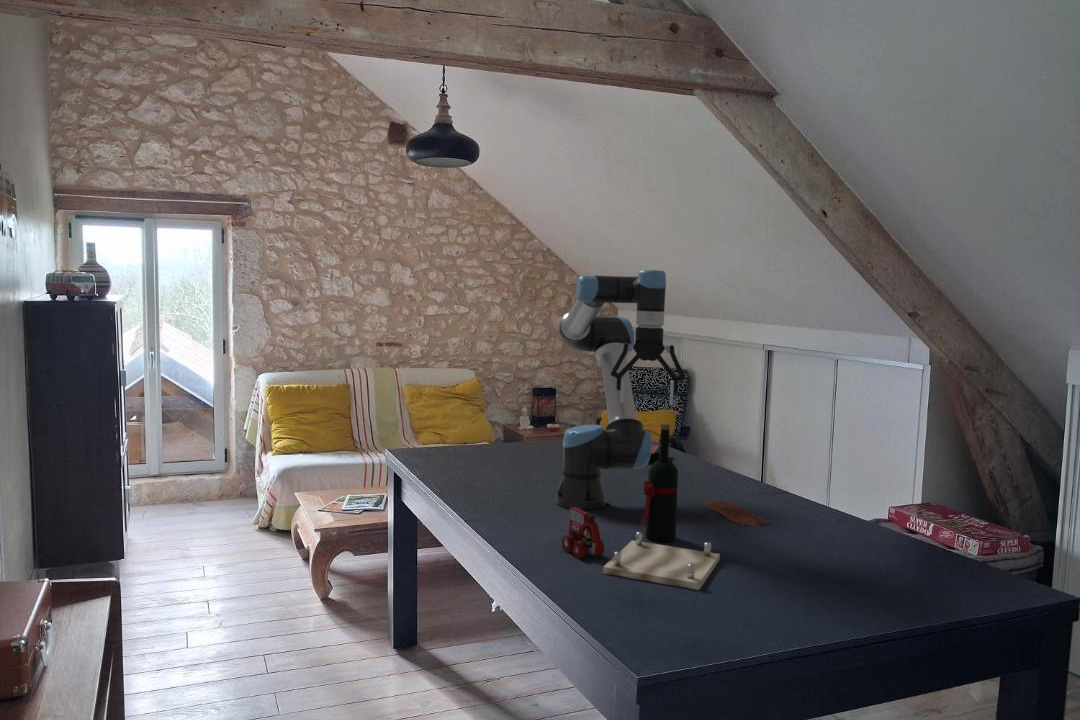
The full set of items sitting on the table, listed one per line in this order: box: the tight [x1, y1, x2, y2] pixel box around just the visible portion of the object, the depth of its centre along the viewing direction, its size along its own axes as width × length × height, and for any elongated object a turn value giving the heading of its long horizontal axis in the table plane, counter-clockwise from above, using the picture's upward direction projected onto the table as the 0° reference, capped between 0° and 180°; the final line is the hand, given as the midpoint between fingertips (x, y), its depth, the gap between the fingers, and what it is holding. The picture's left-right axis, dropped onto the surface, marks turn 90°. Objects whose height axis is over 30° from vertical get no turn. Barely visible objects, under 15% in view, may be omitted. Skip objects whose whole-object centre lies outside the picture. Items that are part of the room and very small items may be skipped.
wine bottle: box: [640, 423, 679, 544], centre depth 210 cm, size 8×10×30 cm
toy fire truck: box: [561, 507, 605, 560], centre depth 197 cm, size 7×12×10 cm, turn 29°
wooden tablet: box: [702, 499, 770, 527], centre depth 239 cm, size 27×10×2 cm, turn 14°
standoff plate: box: [602, 531, 721, 591], centre depth 190 cm, size 22×22×4 cm
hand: (646, 403), depth 224 cm, fingers open, 13 cm apart
